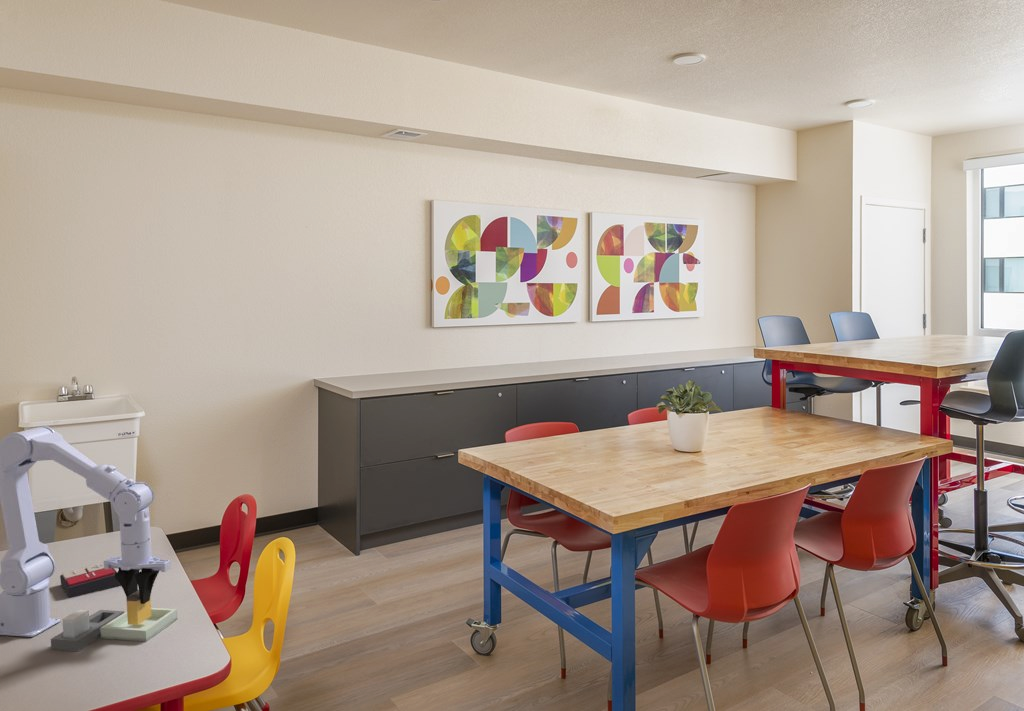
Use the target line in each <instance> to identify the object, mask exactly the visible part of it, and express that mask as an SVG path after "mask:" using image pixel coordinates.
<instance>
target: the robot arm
mask: <svg viewBox="0 0 1024 711" xmlns="http://www.w3.org/2000/svg"><path fill="white" fill-rule="evenodd" d="M38 461H39V462H41V461H53V462H56V463H57V464H59V465H61V466H63V468H64V467H65V468H66V469H68V470H70V471H72V472H73V473H74V474H77V475H78V476H81V477H82V478H84V479H85V484H86V487H87V488H88V489H91V490H92V491H94V492H95V493H96V494H98V495H100V496H101V497H103V498H104V499H106V500H107V501H109V502H110V503H111V505H112V508H113V511H115V513H116V514H117V516H118V521H119V533H120V554H121V557H120V556H119V557H118V556H117V557H108V558H106V559H104V560H103V562H104V569H110V568H117V569H119V571H118V572H117V573H115V578H116V579H117V580H118V582H119V583H120V585H121V586H120V587H121V588H122V590H123V592H124V594H125V597H128V596H129V595H131V594H133V593H134V592H136V591H138V590H139V596H140V602H141V604H145V603H146V602H148V601H149V600H150V598H151V594H152V590H153V587H154V584H155V581H156V579H157V577H158V575H159V573H160V572H161V573H165V572H168V571H170V570H171V568H172V567H171V560H170V559H163V558H159V557H156V556H152V539H151V519H150V518H151V517H150V505H151V504H152V503H153V501H154V498H155V494H154V490H153V489H152V487H151V486H150V485H148V483H146V482H145V481H135V480H134V479H133V478H128V477H127V476H125V475H124V474H122V473H121V472H119V471H118V470H116V469H117V467H116V466H114V465H113V464H110V465H108V464H100V465H98V464H96V463H95V462H94V461H92V460H91V459H90V458H88V457H87V456H86V455H85V454H84V453H81V452H80V451H79V450H77V448H75V447H73V446H72V445H71V444H69V442H67V441H66V440H65V439H64V437H63V435H62V433H59V432H57V431H55V430H54V429H53V428H51V427H50V426H48V425H39V426H36V427H33V428H30V429H26V430H21V431H18V432H10V433H9V434H6V435H5V436H4V437H3V438H2V439H1V440H0V506H1V514H2V518H3V524H4V529H5V533H6V534H5V535H6V540H7V546H8V550H7V551H6V553H5V555H4V556H3V557H2V559H1V561H0V588H1V589H2V590H3V591H1V593H0V636H13V637H29V638H32V637H33V638H34V637H35V636H37V635H38V634H40V633H42V632H44V631H45V630H47V629H49V628H51V627H53V626H55V625H56V624H58V623H60V622H61V621H62V620H61V618H53V617H52V616H51V602H50V600H51V599H50V585H49V583H51V577H52V576H53V575H54V573H55V572H56V566H57V565H56V562H55V559H54V557H53V556H52V554H51V553H50V550H49V546H48V545H47V544H46V543H43V542H42V541H40V539H39V533H38V528H37V522H36V516H35V510H34V509H35V508H34V504H33V499H32V492H31V488H30V481H29V480H30V479H29V474H28V472H29V470H31V468H32V467H33V466H34V465H35V464H36V463H37V462H38Z"/></svg>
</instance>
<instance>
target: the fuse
mask: <svg viewBox="0 0 1024 711" xmlns="http://www.w3.org/2000/svg"><path fill="white" fill-rule="evenodd" d="M89 616H90V611H89V610H85V609H84V610H83V609H78V610H75V611H73V612H72V613H71V614H69V615H67V616H65V617H64V618H62V632H63V637H65V638H75V637H77V636H78V635H80V634H82V633H83V632H85V631H86V630H88V629H90V624H89Z"/></svg>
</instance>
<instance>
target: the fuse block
mask: <svg viewBox="0 0 1024 711" xmlns="http://www.w3.org/2000/svg"><path fill="white" fill-rule="evenodd" d="M123 613H125V611H123V610H111V609H110V610H108V609H107V610H106V609H99V610H98V611H96V612H94V613H92V614H91V615H89V624H90V629H88V630H86V631H85V632H83V633H82V634H80V635H78V636H77V637H75V638H65V637H63V631H62V632H59V634H57V635H55V636H53V637H52V638H50V648H51V650H52V651H53V650H54V651H68V652H69V651H70V652H79V651H80V650H82V649H84V648H85V647H86V646H88V645H90V644H91V643H92V642H94V641H96V640H98V639H99V638H101V632H100V628H101V627H102V626H104V625H106V624H107V623H109V622H110V621H112V620H114V619H115V618H117V617H118V616H120V615H122V614H123Z"/></svg>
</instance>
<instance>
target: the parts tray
mask: <svg viewBox="0 0 1024 711" xmlns="http://www.w3.org/2000/svg"><path fill="white" fill-rule="evenodd" d="M177 620H178V608H165V607H163V608H161V607H151V617H149V618H148V619H146V620H145V621H143V622H142V623H140V624H139V625H131V624H128V617H127V610H126V611H124V613H123V614H122V615H120V616H118V617H117V618H115V619H114V620H112V621H110V622H109V623H107V624H106V625H104V626H102V627H101V628H100V632H101V637H100V639H102V640H103V639H105V640H118V641H119V640H122V641H135V642H148V641H149V640H150V639H152V638H154V637H155V636H156V635H158V634H159V633H160V632H162V631H163V630H165V629H166V628H167V627H168V626H170V625H172V624H173V623H174V622H176V621H177Z"/></svg>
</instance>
